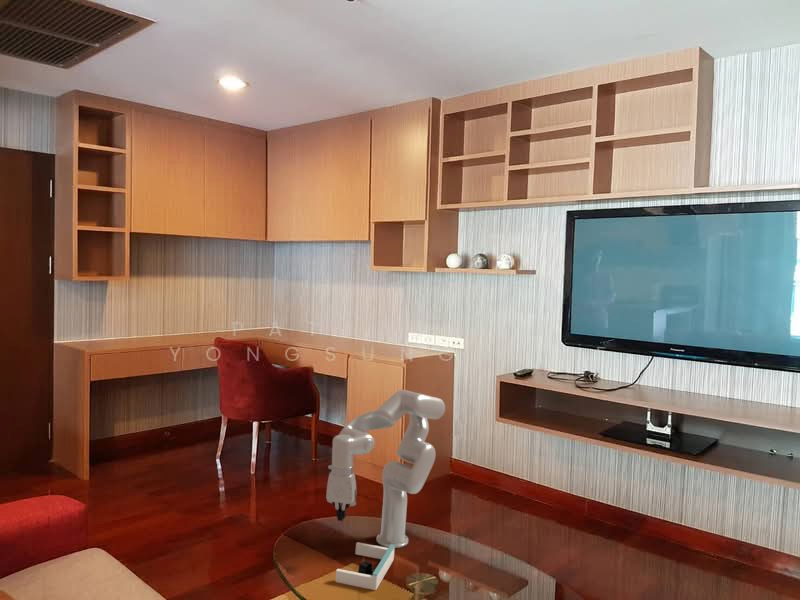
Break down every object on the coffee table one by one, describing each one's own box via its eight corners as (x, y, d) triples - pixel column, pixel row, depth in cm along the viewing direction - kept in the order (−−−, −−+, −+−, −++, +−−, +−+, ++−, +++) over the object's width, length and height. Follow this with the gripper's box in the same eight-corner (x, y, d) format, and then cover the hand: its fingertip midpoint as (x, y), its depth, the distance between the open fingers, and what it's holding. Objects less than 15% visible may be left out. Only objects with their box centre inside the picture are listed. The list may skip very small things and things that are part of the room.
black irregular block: (362, 586, 211) (363, 573, 211) (345, 579, 215) (346, 566, 215) (383, 572, 222) (383, 559, 221) (366, 565, 226) (367, 553, 225)
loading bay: (356, 552, 234) (357, 538, 233) (393, 559, 230) (394, 545, 230) (335, 581, 212) (336, 566, 211) (376, 590, 208) (377, 574, 208)
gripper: (318, 471, 220) (317, 520, 222) (359, 476, 216) (357, 527, 218) (326, 463, 227) (325, 512, 229) (365, 469, 223) (364, 517, 225)
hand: (341, 519), depth 223 cm, fingers closed
